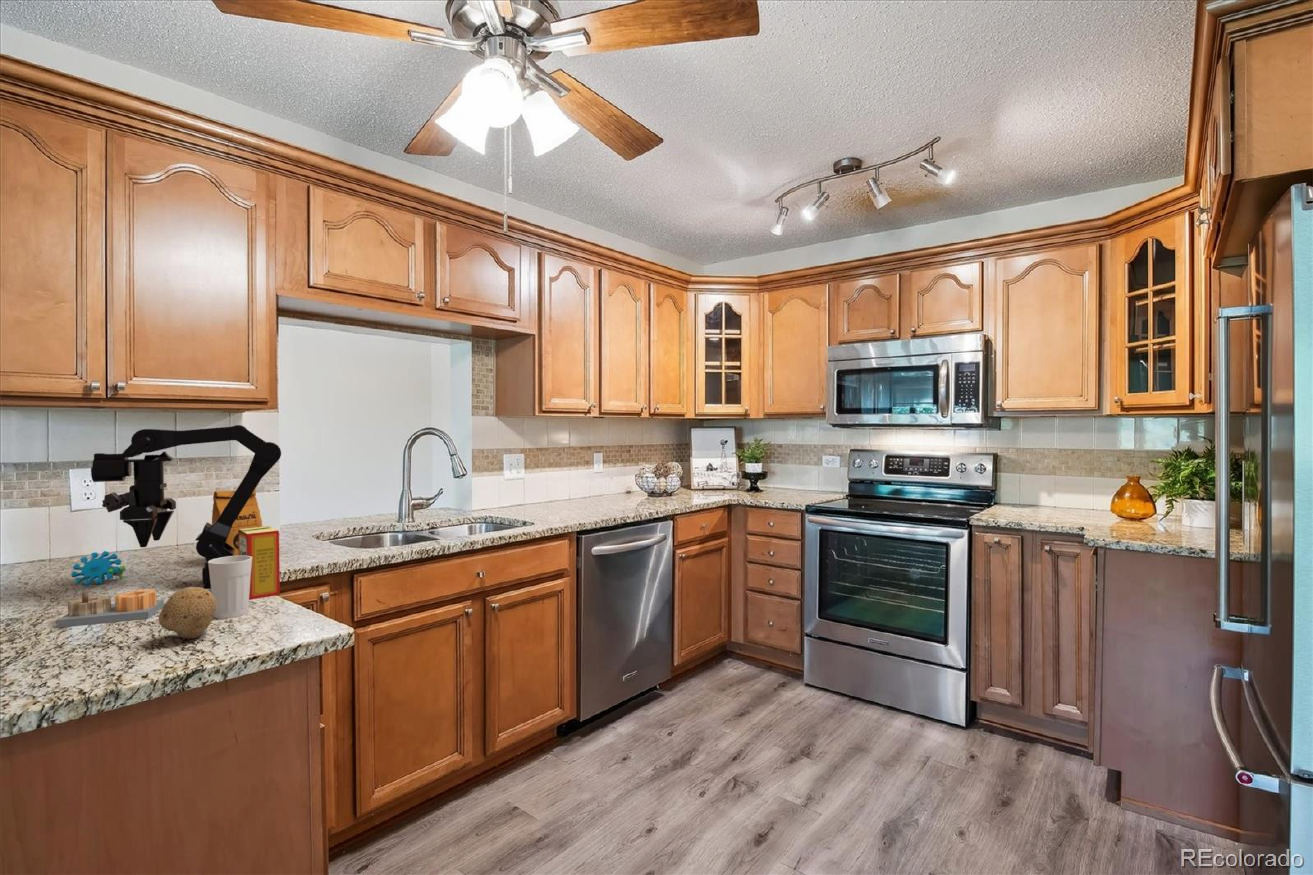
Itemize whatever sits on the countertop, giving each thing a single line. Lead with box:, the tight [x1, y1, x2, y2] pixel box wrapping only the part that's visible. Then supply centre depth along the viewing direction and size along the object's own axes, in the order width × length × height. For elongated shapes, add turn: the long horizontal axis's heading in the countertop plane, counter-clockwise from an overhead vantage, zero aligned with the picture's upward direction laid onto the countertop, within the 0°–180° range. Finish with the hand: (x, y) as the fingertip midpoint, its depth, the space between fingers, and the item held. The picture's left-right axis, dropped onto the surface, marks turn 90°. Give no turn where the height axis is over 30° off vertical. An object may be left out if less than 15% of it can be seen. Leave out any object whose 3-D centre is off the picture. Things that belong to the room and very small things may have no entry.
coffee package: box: [211, 487, 263, 556], centre depth 185 cm, size 10×12×22 cm
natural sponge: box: [158, 586, 217, 639], centre depth 122 cm, size 9×9×10 cm
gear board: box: [56, 599, 165, 628], centre depth 136 cm, size 15×10×4 cm, turn 113°
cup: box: [208, 556, 252, 619], centre depth 137 cm, size 8×8×12 cm
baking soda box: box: [238, 525, 281, 601], centre depth 154 cm, size 10×6×16 cm
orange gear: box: [114, 588, 157, 612], centre depth 137 cm, size 7×7×3 cm
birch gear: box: [67, 591, 112, 616], centre depth 134 cm, size 7×7×4 cm
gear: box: [70, 550, 127, 587], centre depth 166 cm, size 11×6×10 cm
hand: (150, 543), depth 154 cm, fingers open, 9 cm apart
